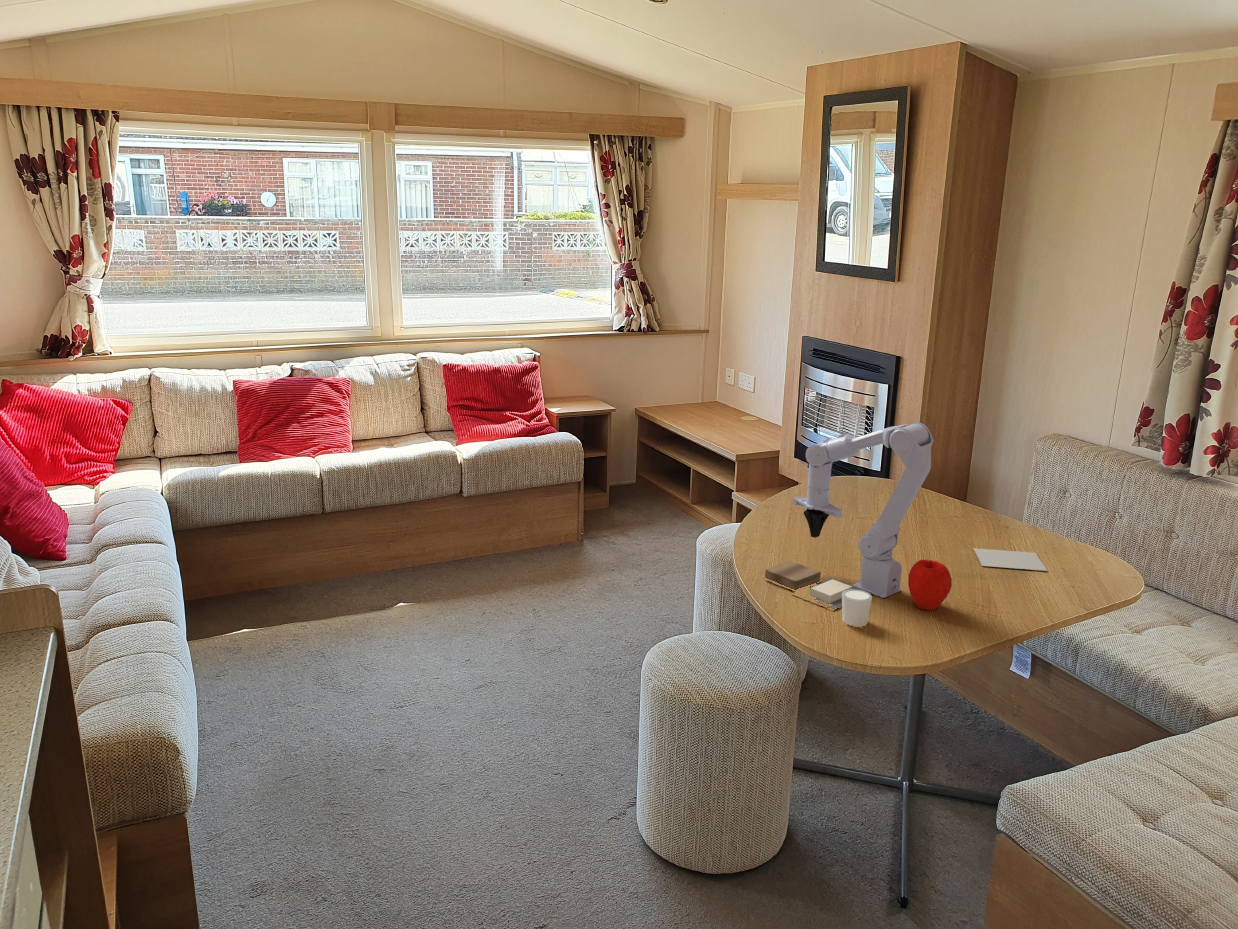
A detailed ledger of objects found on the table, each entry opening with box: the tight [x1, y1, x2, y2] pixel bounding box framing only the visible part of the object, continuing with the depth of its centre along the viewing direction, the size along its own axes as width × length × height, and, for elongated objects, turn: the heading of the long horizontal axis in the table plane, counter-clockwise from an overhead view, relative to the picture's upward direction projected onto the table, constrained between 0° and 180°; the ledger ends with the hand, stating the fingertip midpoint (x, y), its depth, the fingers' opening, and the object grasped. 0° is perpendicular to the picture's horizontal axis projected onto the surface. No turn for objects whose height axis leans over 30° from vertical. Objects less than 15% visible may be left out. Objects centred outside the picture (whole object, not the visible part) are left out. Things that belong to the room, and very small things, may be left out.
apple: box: [907, 559, 953, 611], centre depth 219 cm, size 10×10×12 cm
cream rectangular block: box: [810, 578, 853, 603], centre depth 226 cm, size 6×9×2 cm, turn 131°
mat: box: [810, 577, 873, 609], centre depth 227 cm, size 13×16×1 cm
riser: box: [764, 560, 822, 590], centre depth 235 cm, size 10×10×3 cm
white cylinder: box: [841, 589, 873, 626], centre depth 211 cm, size 7×7×7 cm
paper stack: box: [973, 547, 1048, 572], centre depth 248 cm, size 23×25×1 cm
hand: (815, 536), depth 241 cm, fingers closed
